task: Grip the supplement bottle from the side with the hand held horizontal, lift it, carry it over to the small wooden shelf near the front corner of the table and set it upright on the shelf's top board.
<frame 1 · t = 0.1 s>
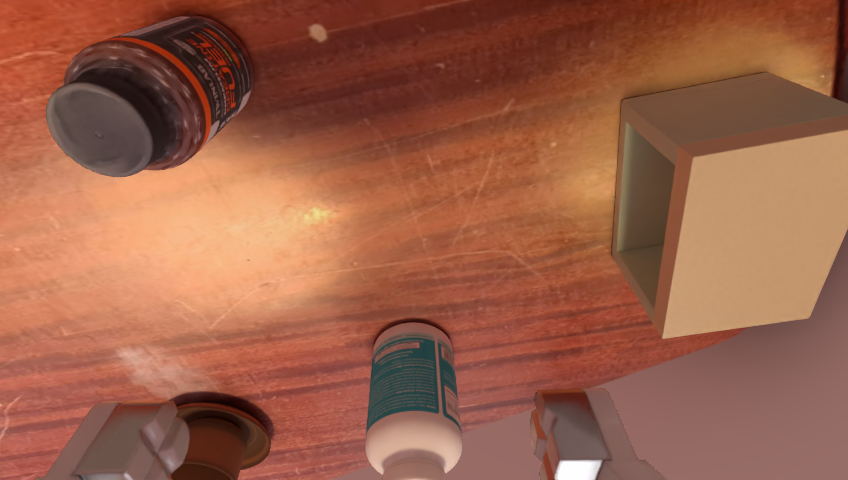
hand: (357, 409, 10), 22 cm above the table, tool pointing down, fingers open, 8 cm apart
supplement bottle: (208, 65, 27), on the table
pill bottle: (413, 344, 42), on the table
shelf: (679, 175, 32), on the table
cup and saucer: (219, 423, 49), on the table
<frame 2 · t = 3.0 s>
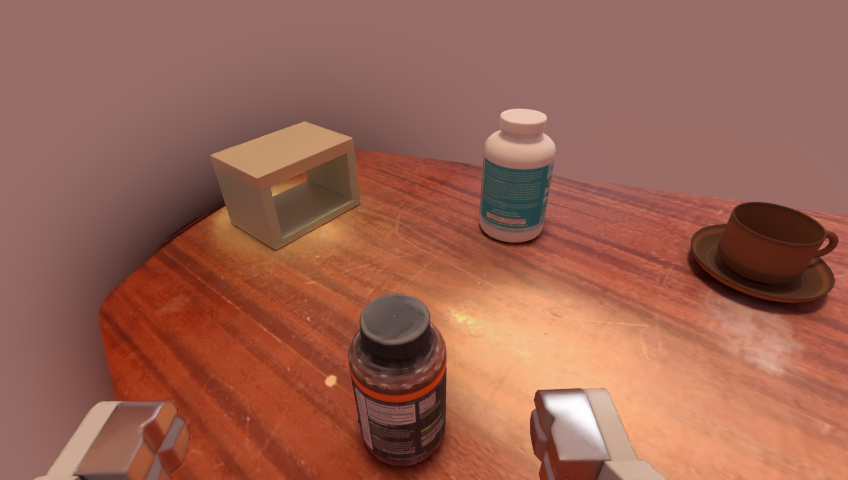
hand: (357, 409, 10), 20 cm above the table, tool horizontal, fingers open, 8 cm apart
supplement bottle: (403, 430, 31), on the table
pill bottle: (509, 228, 52), on the table
shelf: (297, 213, 55), on the table
cup and saucer: (749, 273, 45), on the table
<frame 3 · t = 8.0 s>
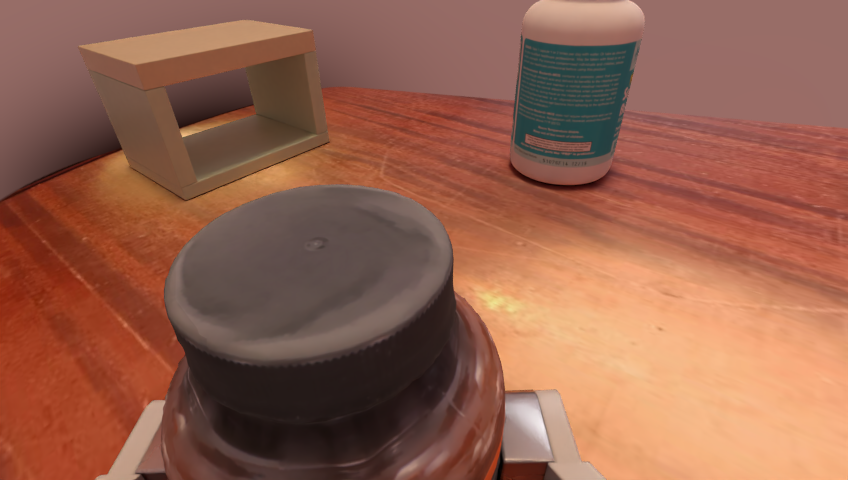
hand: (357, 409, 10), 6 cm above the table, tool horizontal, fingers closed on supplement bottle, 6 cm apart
pill bottle: (557, 169, 34), on the table
shelf: (234, 153, 37), on the table
when the fingers open (15 cm above the table, at t = 15.6 s): supplement bottle stays where it is, resting on shelf.
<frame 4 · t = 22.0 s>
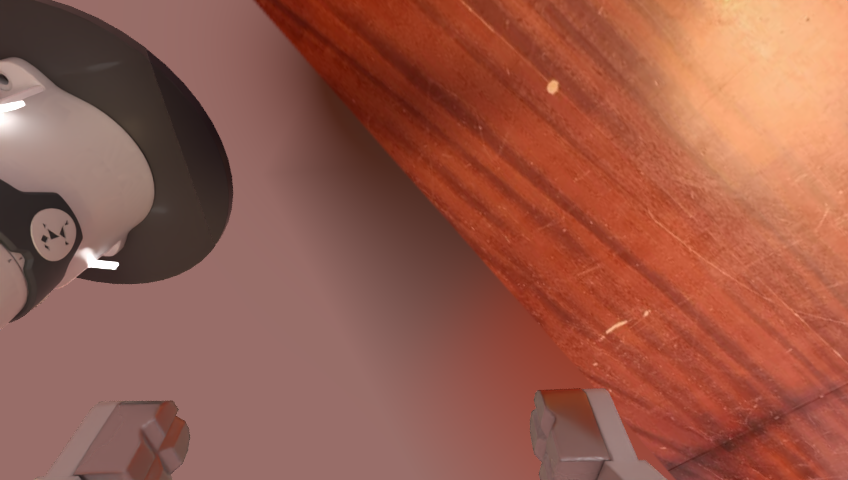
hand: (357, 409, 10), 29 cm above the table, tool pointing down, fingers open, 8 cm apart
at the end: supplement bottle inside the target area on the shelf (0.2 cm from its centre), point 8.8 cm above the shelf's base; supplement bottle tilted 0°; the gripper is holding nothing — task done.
